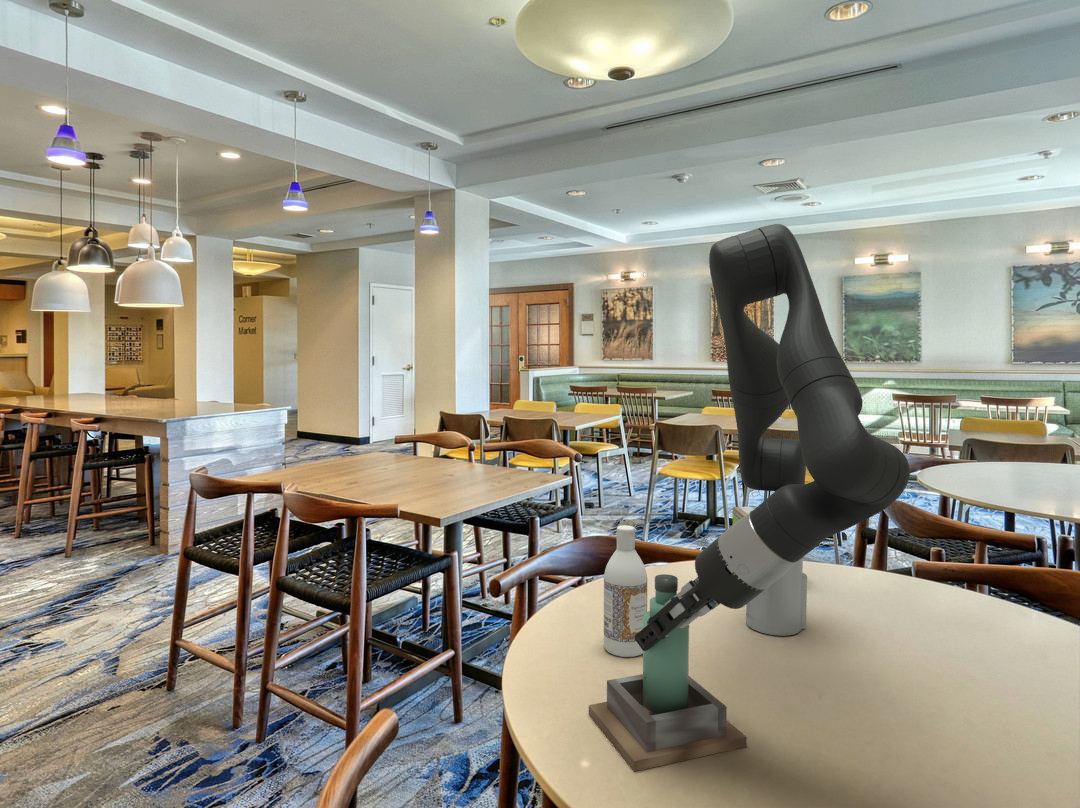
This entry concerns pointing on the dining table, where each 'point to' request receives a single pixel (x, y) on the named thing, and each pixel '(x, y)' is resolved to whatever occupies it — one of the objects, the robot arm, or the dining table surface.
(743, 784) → the dining table surface
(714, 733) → the bottle stand
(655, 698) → the green bottle
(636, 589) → the bath foam
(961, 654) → the dining table surface
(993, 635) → the dining table surface
